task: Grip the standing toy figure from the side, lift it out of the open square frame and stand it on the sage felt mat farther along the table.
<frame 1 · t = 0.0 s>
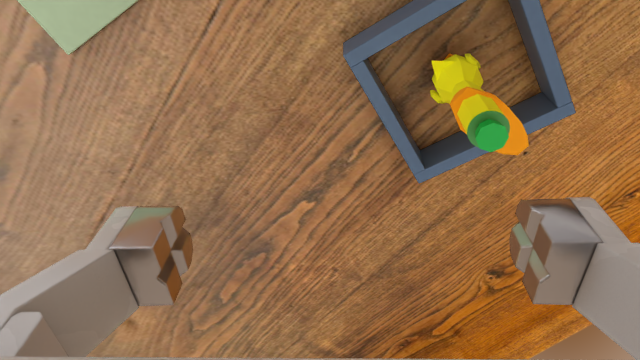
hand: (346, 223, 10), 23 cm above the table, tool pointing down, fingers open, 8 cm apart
open square frame: (453, 70, 32), on the table
toy figure: (452, 69, 32), resting in open square frame
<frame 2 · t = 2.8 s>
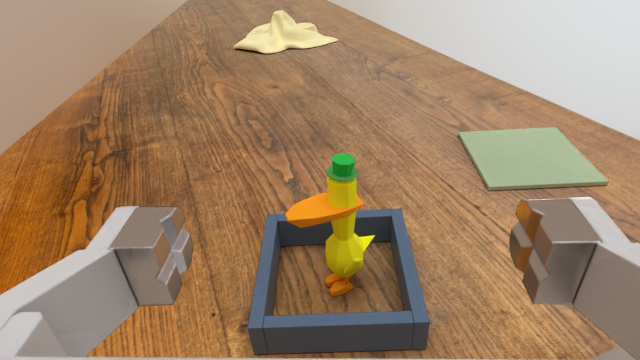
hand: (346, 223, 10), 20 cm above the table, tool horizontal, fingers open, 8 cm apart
felt mat: (524, 157, 48), on the table
open square frame: (337, 286, 35), on the table
cloth: (287, 40, 94), on the table
toy figure: (337, 287, 35), resting in open square frame
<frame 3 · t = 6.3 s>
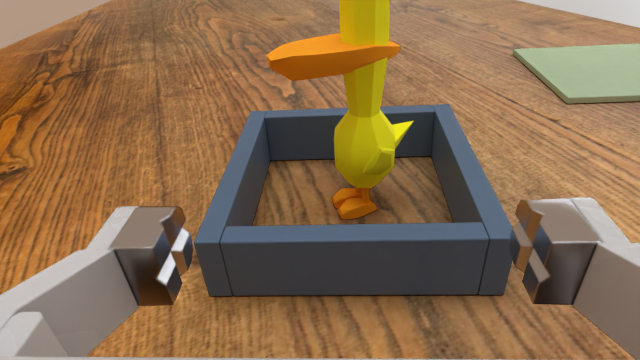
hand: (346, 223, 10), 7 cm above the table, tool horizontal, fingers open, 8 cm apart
felt mat: (609, 72, 36), on the table
open square frame: (350, 207, 22), on the table
toy figure: (350, 210, 22), resting in open square frame
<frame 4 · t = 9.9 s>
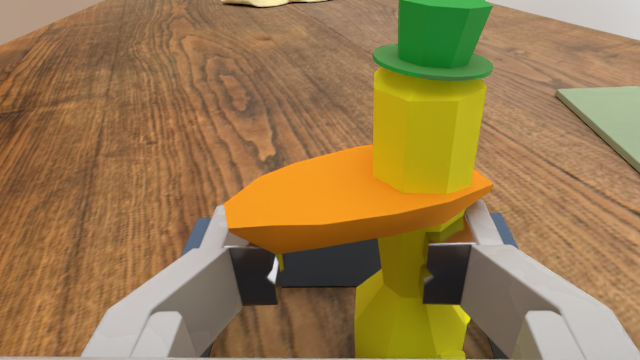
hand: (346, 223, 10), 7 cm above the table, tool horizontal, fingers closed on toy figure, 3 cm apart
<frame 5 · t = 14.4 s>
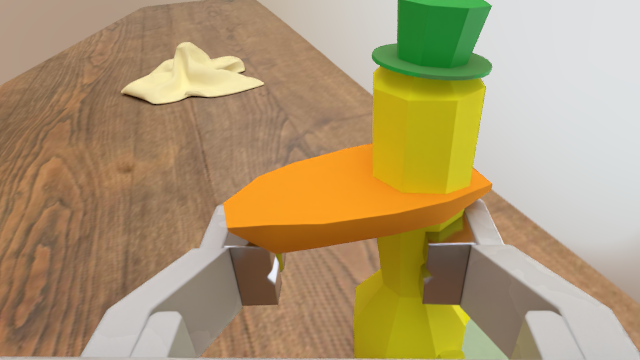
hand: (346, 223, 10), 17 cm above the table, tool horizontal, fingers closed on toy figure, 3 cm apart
cloth: (199, 82, 69), on the table
when the fingers open (7 cm above the table, at t = 19.3 s): toy figure stays where it is, resting on felt mat.
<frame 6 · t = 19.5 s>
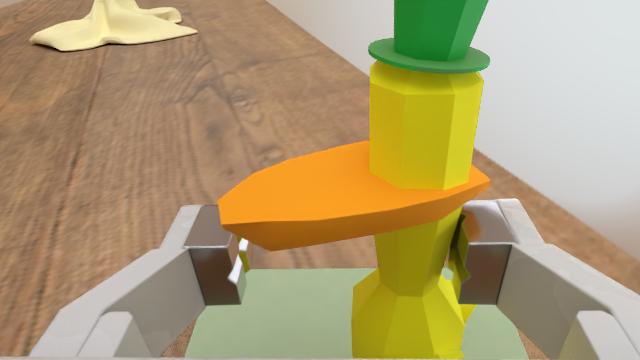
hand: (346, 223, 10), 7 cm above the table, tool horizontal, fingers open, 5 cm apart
cloth: (126, 32, 60), on the table
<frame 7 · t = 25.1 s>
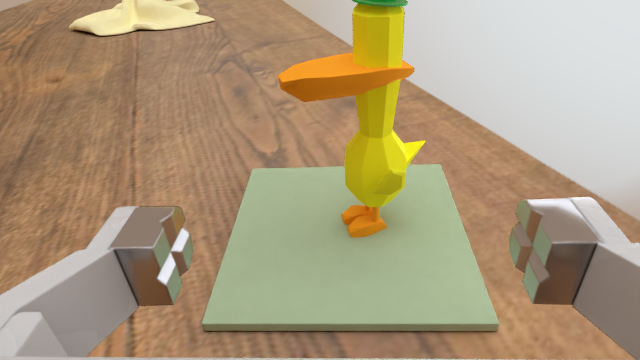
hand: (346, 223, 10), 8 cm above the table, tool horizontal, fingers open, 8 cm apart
felt mat: (345, 234, 22), on the table
cloth: (151, 21, 68), on the table
toy figure: (360, 227, 22), resting on felt mat
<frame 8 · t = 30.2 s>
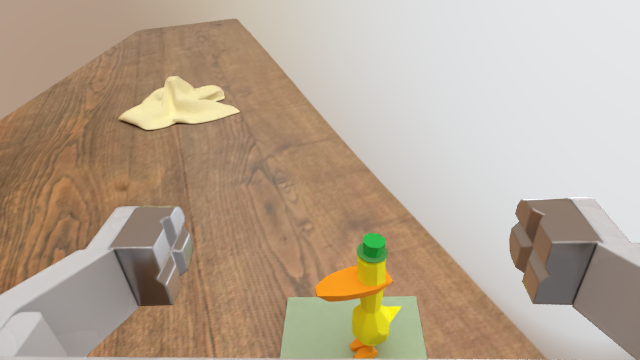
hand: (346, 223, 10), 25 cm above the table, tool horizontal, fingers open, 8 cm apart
felt mat: (352, 357, 35), on the table
cloth: (185, 109, 81), on the table
toy figure: (361, 352, 35), resting on felt mat
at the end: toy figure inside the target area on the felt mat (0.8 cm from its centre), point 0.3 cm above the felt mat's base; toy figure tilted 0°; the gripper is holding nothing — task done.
